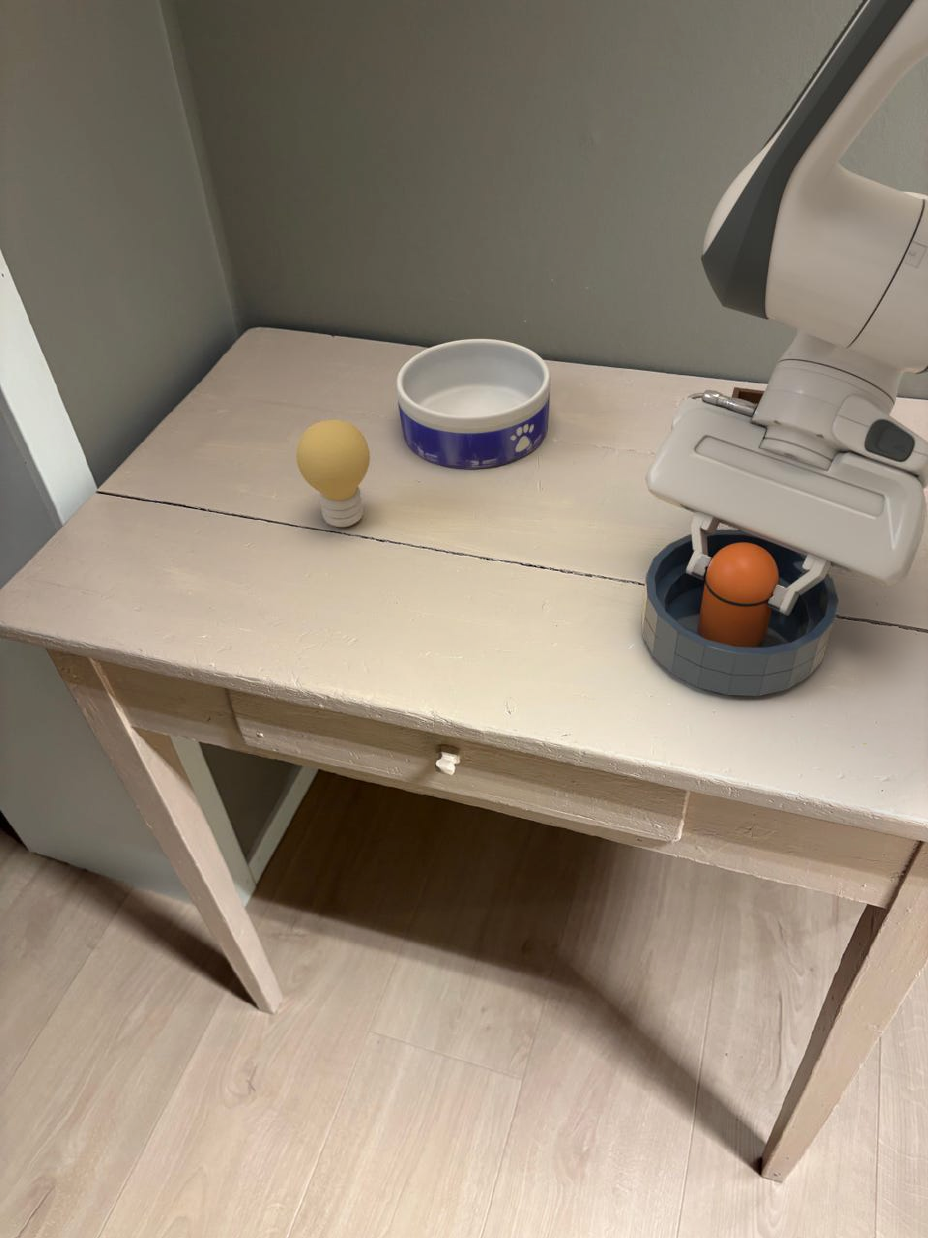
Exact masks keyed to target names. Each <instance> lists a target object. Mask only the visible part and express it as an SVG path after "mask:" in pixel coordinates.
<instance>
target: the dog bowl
mask: <svg viewBox="0 0 928 1238" xmlns="http://www.w3.org/2000/svg"><path fill="white" fill-rule="evenodd" d="M395 381H396V383H395V384H396V395H397V405H398V412H399V418H400V425H401V429H402V435H403V439H404V441H405V443H406V444H407V446H408V447H409V448H410V449H411V451H412V452H413V453H414V454H416V455H417V456H419V457H420V458H422V459H424V460H425V461H428V462H431V463H433V464H436V465H439V466H443V467H447V468H454V469H465V470H477V469H487V468H494V467H498V466H503V465H506V464H509V463H512V462H516V461H517V460H520V459H521V458H523V457H525V456H527V455H528V454H530V453H532V452H533V451H534V450H536V449H537V448H538V447H539V446H540V444H541V443H542V442H543V441H544V439H545V438H546V435H547V433H548V428H549V418H550V417H549V416H550V403H551V402H550V400H551V372H550V369H549V366H548V364H547V362H545V360H544V359H543V358H542V357H541V356H540V355H538V354H537V353H536V352H534V351H533V350H531V349H529V348H527V347H525V346H523V345H520V344H517V343H515V342H514V343H513V342H509V341H505V340H501V339H500V340H499V339H493V338H492V339H491V338H469V339H460V340H459V339H458V340H453V341H449V342H444V343H442V344H441V343H440V344H437V345H434V346H431V347H429V348H427V349H425V350H422V351H420V352H419V353H417V354H416V355H414V356H413V357H411V358H410V359H408V360H407V361H406V363H404V364H403V366H402V367H401V369H400V370H399V371H398V374H397V377H396V380H395Z"/></svg>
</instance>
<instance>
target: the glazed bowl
mask: <svg viewBox="0 0 928 1238" xmlns="http://www.w3.org/2000/svg"><path fill="white" fill-rule="evenodd" d="M734 543H752V544H755V545H758V546H760V547H762V548H763V549H765V550H766V551H767V552H768V553H769V554H770V555H771V556H772V558H773V559H774V561H775V563H776V565H777V568H778V573H779V580H778V585H780V586H783V587H785V588H787V587H789V586H790V585H791V584H793V583H794V582H795V581H797V580H798V579H799V578H801V577H802V576H804V575H805V574H806V573H807V572H806V571H805V570H804V569H803V567H802V566H803V564H804V562H805V559H806V557H807V556H805V555H803V554H800V553H798V552H795V551H792V550H790V549H787V548H785V547H782V546H779V545H777V544H774V543H772V542H769V541H766V540H764V539H761V538H759V537H756V536H753V535H751V534H748V533H746V532H743V531H740V530H738V529H723V528H722V529H719V528H717V530H716V532H715V534H714V535H710V534H708V533H707V549H708V556H709V557H711V558H713V557H714V556H715V555H716V554H717V553H718V552H719V551H720V550H721V549H723V548H724V547H726V546H728V545H731V544H734ZM693 553H694V550H693V543H692V533H690V534H688V535H686V536H683V537H682V538H681V537H680V538H679V539H676V540H675V541H673V542H670V543H668V544H667V545H666V546H665V547H664V548H663V549H662V550H661V551H660V552H659V553H658V554H656V555H655V556H654V557H653V558H652V560H651V562H650V565H649V567H648V570H647V573H646V574H645V580H644V587H643V588H644V589H643V599H642V607H641V615H640V616H641V617H640V618H641V635H642V638H643V639H644V641H645V643H646V645H647V647H648V649H649V651H650V653H651V655H652V656H653V657H654V658H655V659H656V660H657V661H658V662H659V663H660V664H661V665H662V666H663V667H664V668H665V669H666V670H667V671H669V673H671V674H672V675H674V676H676V677H677V678H679V679H681V680H683V681H685V682H686V683H689V684H691V685H693V686H694V687H697V688H700V689H702V690H703V689H704V690H707V691H711V692H714V693H718V694H722V695H726V696H746V697H747V696H748V697H750V696H751V697H758V696H764V695H769V694H773V693H774V694H775V693H779V692H782V691H786V690H788V689H790V688H792V687H793V686H795V685H797V684H799V683H800V682H803V681H805V680H806V679H808V678H809V677H810V676H811V675H812V673H814V671H815V670H816V669H817V667H818V666H819V665H820V664H821V662H822V661H823V658H824V655H825V652H826V649H827V646H828V644H829V643H828V642H829V639H830V637H831V633H832V629H833V627H834V623H835V620H836V615H837V611H838V606H839V595H838V592H837V590H836V585H835V582H834V580H833V578H832V577H831V575H830V574H829V572H827V574H826V576H825V578H824V580H822V581H821V582H819V583H818V584H816V585H815V586H813V587H812V588H810V589H809V590H808V591H806V592H805V593H803V594H802V595H799V596H798V598H797V600H796V602H795V604H794V606H793V609H792V611H791V613H790V614H789V615H788V616H787V615H785V614H782V613H780V612H777V611H775V610H773V609H772V611H771V615H770V620H769V624H768V628H767V632H766V636H765V639H764V640H763V642H762V643H761V644H760V645H759V646H757V647H756V648H755V647H734V646H730V645H726V644H722V643H718V642H714V641H710V640H707V639H705V638H703V637H702V636H701V634H700V632H699V629H698V622H699V616H700V610H701V604H702V598H703V592H704V586H705V581H704V580H701V579H699V578H696V577H694V576H692V575H689V574H687V573H686V569H687V566H688V564H689V562H690V560H691V557H692V555H693Z"/></svg>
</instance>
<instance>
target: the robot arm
mask: <svg viewBox="0 0 928 1238" xmlns="http://www.w3.org/2000/svg"><path fill="white" fill-rule="evenodd" d="M927 57H928V0H861V1H860V2H859V3H858V5H857V7H856V8H855V10H854V11H853V13H852V14H851V15H850V17H849V18H848V21H847V22H846V23H845V25H844V26H843V28H842V29H841V31H840V32H839V34H838V35H837V37H836V38H835V39H834V42H832V45H830V47H829V49H828V50H827V52H826V54H825V55H824V57H823V58H822V60H821V61H820V62H819V64H818V65H817V67H816V68H815V70H814V71H813V73H812V75H811V76H810V78H809V79H808V80H807V82H806V83H805V85H804V86H803V88H802V90H801V91H800V93H798V95H797V97H796V99H794V101H793V103H792V104H791V106H790V107H789V109H788V110H787V112H786V114H785V115H784V117H783V118H782V120H781V121H780V122H779V124H778V125H777V127H776V128H775V130H774V131H773V132H772V134H771V135H770V136H769V138H767V140H766V142H765V144H763V146H762V147H761V149H760V150H759V151H758V153H757V154H756V155H755V156H754V157H753V159H752V160H751V161H750V162H749V163H748V164H747V165H746V166H745V167H744V168H743V170H741V171H740V173H739V174H738V175H737V176H736V177H735V179H734V180H733V181H732V182H731V184H730V185H729V186H728V188H727V189H726V191H724V194H723V195H722V197H721V198H720V200H719V201H718V203H717V205H716V208H715V209H714V211H713V213H712V215H711V218H710V221H709V223H708V226H707V229H706V231H705V235H704V240H703V246H702V254H701V256H700V261H701V264H702V267H703V271H704V273H705V276H706V278H707V280H708V283H709V285H710V287H711V289H712V290H713V292H714V295H715V296H716V298H717V299H718V301H719V302H720V304H721V306H722V307H723V308H727V309H730V310H733V311H736V312H739V313H743V314H746V315H749V316H753V317H756V318H759V319H763V320H766V321H767V320H768V321H769V319H770V320H773V321H775V322H778V323H781V324H782V325H785V326H787V327H790V328H792V329H794V330H797V333H796V335H795V337H794V340H793V341H792V343H791V344H790V345H789V347H788V348H787V349H786V350H785V351H784V352H783V354H782V355H781V356H780V358H779V360H778V361H777V364H776V365H775V368H774V370H773V372H772V373H771V377H770V378H769V381H768V383H767V384H766V387H765V389H764V390H763V391H764V394H763V396H762V398H761V400H760V402H759V404H756V403H753V402H749V401H746V400H742V399H738V398H733V397H732V396H728V395H724V394H723V393H722V392H719V391H717V390H712V389H705V391H703V392H696V393H692V394H690V395H688V396H687V397H685V398H684V399H682V401H681V402H680V404H679V406H678V407H677V410H676V412H675V414H674V417H673V419H672V422H671V429H670V432H669V433H668V435H667V436H666V438H665V439H664V441H663V442H662V444H661V445H660V447H659V449H658V451H657V453H656V455H655V456H654V458H653V460H652V461H651V464H650V466H649V467H648V470H647V472H646V474H645V482H646V487H647V490H648V492H649V493H650V495H652V496H654V497H655V498H657V499H658V500H660V501H663V502H665V503H668V504H670V505H673V506H676V507H678V508H681V509H682V510H686V511H689V512H690V513H694V516H693V518H692V521H691V523H690V531H691V533H690V534H692V543H693V550H694V553H693V555H692V557H691V560H690V562H689V564H688V566H687V569H686V573H687V574H689V575H692V576H694V577H696V578H699V579H701V580H704V581H705V576H706V572H707V569H708V566H709V564H710V561H711V560H712V558H711V557H709V556H708V549H707V533H708V534H710V535H714V534H715V532H716V530H717V529H718V528H719V526H720V524H721V525H724V526H727V527H730V528H732V529H734V530H740V531H743V532H746V533H748V534H751V535H753V536H756V537H759V538H761V539H764V540H766V541H769V542H772V543H774V544H777V545H779V546H782V547H785V548H787V549H790V550H792V551H795V552H798V553H800V554H803V555H805V556H807V557H806V559H805V562H804V564H803V566H802V567H803V569H804V570H805V571H806V572H807V573H806V574H805V575H804V576H802V577H801V578H799V579H798V580H797V581H795V582H794V583H793V584H791V585H790V586H789V587H787V588H785V587H783V586H780V585H778V584H776V586H775V588H774V590H773V596H772V597H770V599H769V601H768V603H767V607H769V608H771V609H773V610H775V611H777V612H780V613H782V614H785V615H787V616H788V615H789V614H790V613H791V611H792V609H793V606H794V604H795V602H796V600H797V598H798V596H799V595H802V594H803V593H805V592H806V591H808V590H809V589H810V588H812V587H813V586H815V585H816V584H818V583H819V582H821V581H822V580H824V578H825V576H826V574H827V573H829V572H828V571H829V569H830V568H831V567H834V568H836V569H840V570H842V571H845V572H847V573H850V574H853V575H854V576H858V577H861V578H862V579H865V580H868V581H871V582H873V583H876V584H878V585H882V586H884V587H887V588H888V587H889V588H891V587H893V586H895V585H896V584H899V583H901V582H903V581H904V580H905V579H906V577H907V575H908V574H909V571H910V570H911V567H912V565H913V562H914V560H915V557H916V554H917V552H918V549H919V546H920V543H921V540H922V537H923V534H924V530H925V527H926V522H927V517H928V506H927V498H926V494H925V491H924V489H926V488H927V487H928V441H927V440H926V439H924V438H923V437H922V436H920V435H919V434H917V433H916V432H914V431H913V430H911V429H910V428H908V427H907V426H905V425H904V424H903V423H901V422H899V421H898V420H897V419H895V418H893V417H892V416H891V413H892V411H893V409H894V406H895V404H896V401H897V396H898V390H899V386H900V382H901V380H902V377H903V375H904V374H905V373H907V372H909V373H913V374H915V375H920V374H924V373H928V195H927V194H925V193H920V192H915V191H906V190H902V191H901V190H899V189H896V188H893V187H891V186H888V185H885V184H882V183H881V182H877V181H875V180H872V179H870V178H867V177H865V176H863V175H859V174H857V173H854V172H853V171H850V170H848V169H847V168H845V167H843V166H842V165H841V164H840V163H839V161H840V159H841V158H842V157H843V156H844V154H845V153H846V152H847V150H848V149H849V147H850V146H851V145H852V144H853V142H854V141H855V140H856V139H857V137H858V136H859V135H860V133H861V132H862V131H863V129H864V128H865V127H866V126H867V124H869V121H870V120H871V119H872V118H873V117H874V115H875V114H876V112H877V111H878V110H879V109H880V107H881V106H882V104H883V103H884V102H885V100H887V98H888V97H889V95H890V94H891V93H892V91H894V89H895V87H897V85H898V84H899V82H900V81H901V80H902V79H903V78H904V76H906V74H907V73H908V72H909V71H910V70H911V69H912V68H913V67H914V66H915V65H917V64H918V63H919V62H921V61H923V59H926V58H927ZM699 399H701V400H699Z"/></svg>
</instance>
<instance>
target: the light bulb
mask: <svg viewBox="0 0 928 1238" xmlns="http://www.w3.org/2000/svg"><path fill="white" fill-rule="evenodd" d="M369 448H370V447H369V445H368V442H367V439H366V438H365V436H364V434H363V433H362V432H361V430H360V429H359V428H358V427H357V426H355V425H354V424H353V423H351V422H349V421H345V420H341V419H328V420H327V419H325V420H322V421H318V422H316V423H313V424H312V425H310V426H309V427H307V428H306V429H305V431H304V432H303V433H302V435H301V436H300V439H299V441H298V443H297V448H296V464H297V468H298V471H299V472H300V475H301V476H302V477H303V479H304V481H305V482H306V483H307V484H309V485H310V486H311V487H312V488H313V489H315V490H316V491H317V492H318V498H319V502H320V509H321V514H322V515H321V516H322V518H323V520H324V522H325V523H326V524H327V525H330V526H332V527H335V528H347V527H351V526H353V525H355V524H356V523H358V522H359V521H360V520H361V519H362V517H363V515H364V507H363V501H362V496H361V493H362V492H361V489H360V487H359V486H360V484H361V483H362V482H363V480H364V478H365V477H366V476H367V475H366V474H367V473H368V470H369V468H370V461H371V454H370V449H369Z"/></svg>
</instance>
